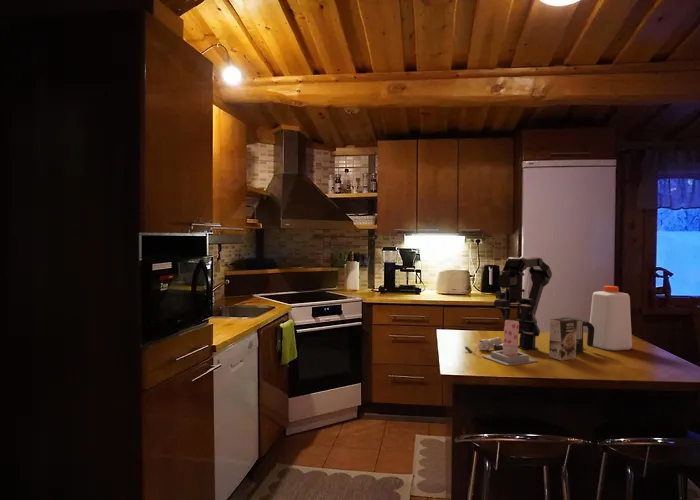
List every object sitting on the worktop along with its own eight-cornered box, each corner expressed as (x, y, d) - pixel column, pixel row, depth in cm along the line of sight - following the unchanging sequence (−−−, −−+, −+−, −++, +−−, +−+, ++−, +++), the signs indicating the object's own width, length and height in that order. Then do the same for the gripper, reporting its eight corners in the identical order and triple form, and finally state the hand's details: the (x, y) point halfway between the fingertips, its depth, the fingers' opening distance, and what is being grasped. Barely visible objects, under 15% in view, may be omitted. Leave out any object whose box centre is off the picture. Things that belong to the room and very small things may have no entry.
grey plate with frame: (511, 353, 198) (512, 347, 198) (537, 361, 185) (537, 355, 185) (482, 357, 192) (482, 351, 191) (506, 366, 179) (507, 359, 179)
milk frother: (568, 354, 199) (569, 320, 198) (545, 345, 214) (546, 313, 214) (597, 353, 202) (598, 319, 201) (573, 344, 217) (574, 313, 216)
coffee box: (561, 360, 188) (562, 321, 187) (548, 357, 193) (549, 318, 193) (576, 358, 192) (577, 319, 191) (563, 354, 198) (564, 317, 197)
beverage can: (507, 359, 185) (510, 321, 185) (499, 356, 191) (501, 319, 191) (520, 359, 187) (522, 322, 187) (511, 356, 192) (513, 320, 192)
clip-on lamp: (476, 363, 193) (514, 352, 197) (474, 349, 192) (512, 338, 196) (462, 354, 204) (498, 343, 208) (460, 340, 203) (497, 330, 207)
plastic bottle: (608, 342, 223) (610, 284, 222) (636, 349, 209) (638, 287, 208) (583, 344, 218) (585, 284, 218) (610, 351, 204) (612, 288, 203)
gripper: (517, 284, 210) (517, 318, 211) (485, 285, 203) (484, 320, 203) (537, 286, 200) (536, 322, 201) (503, 288, 192) (502, 325, 193)
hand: (514, 322), depth 200 cm, fingers open, 9 cm apart
